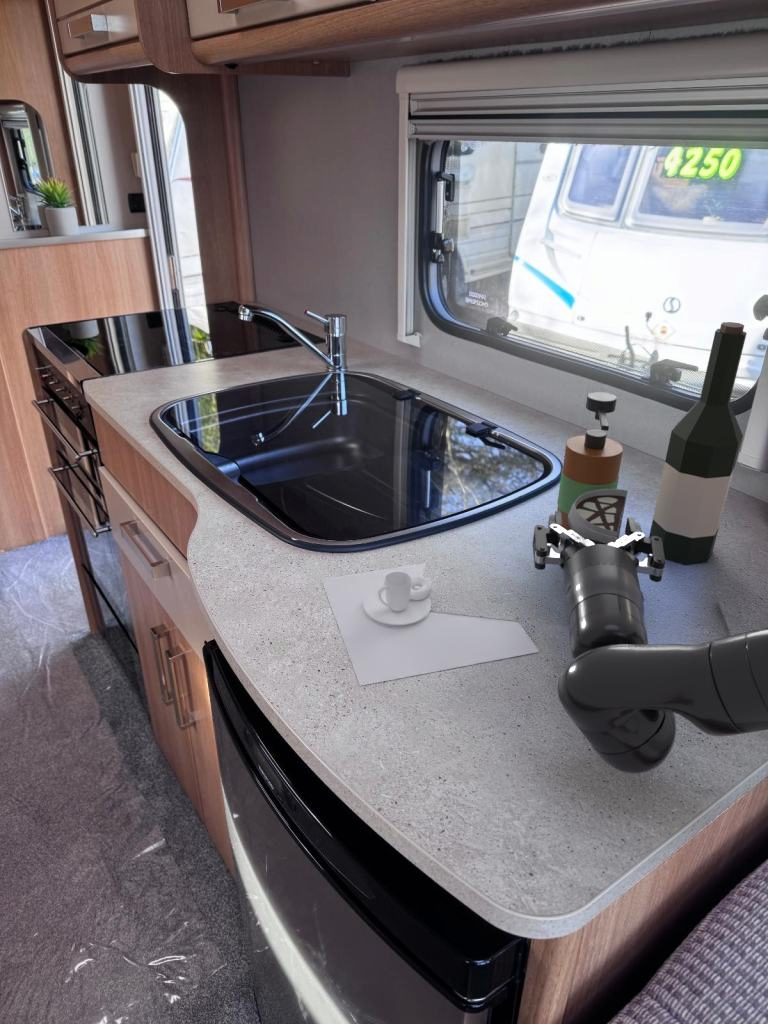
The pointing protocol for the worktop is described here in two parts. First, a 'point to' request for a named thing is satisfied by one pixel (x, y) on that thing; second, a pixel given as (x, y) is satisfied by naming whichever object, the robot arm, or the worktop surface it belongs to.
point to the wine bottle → (701, 459)
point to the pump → (601, 406)
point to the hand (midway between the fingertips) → (593, 521)
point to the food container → (598, 514)
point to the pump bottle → (587, 468)
